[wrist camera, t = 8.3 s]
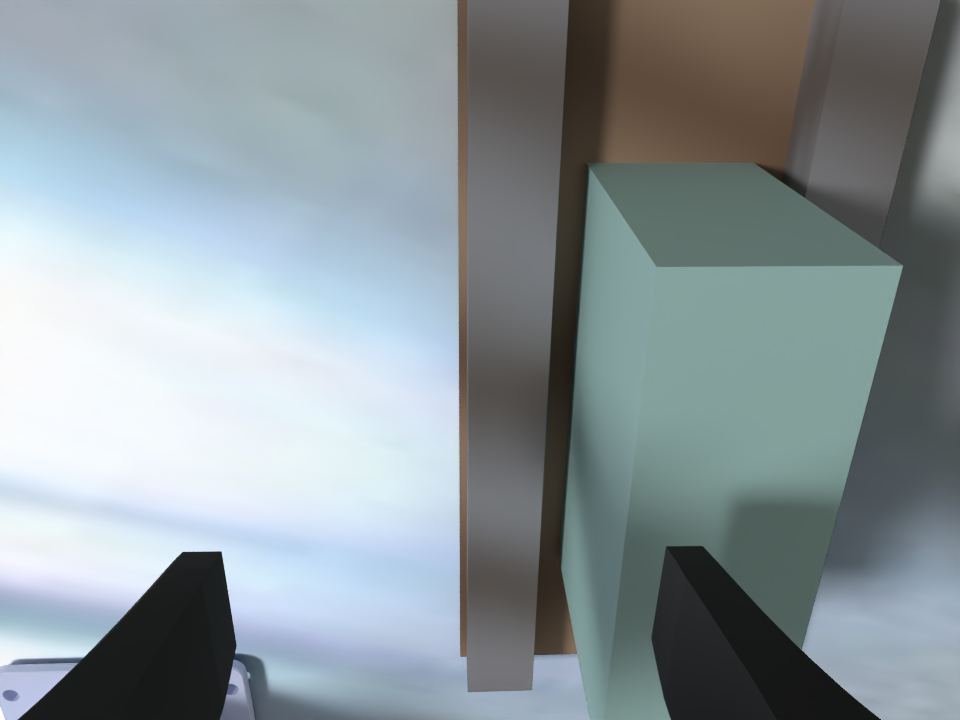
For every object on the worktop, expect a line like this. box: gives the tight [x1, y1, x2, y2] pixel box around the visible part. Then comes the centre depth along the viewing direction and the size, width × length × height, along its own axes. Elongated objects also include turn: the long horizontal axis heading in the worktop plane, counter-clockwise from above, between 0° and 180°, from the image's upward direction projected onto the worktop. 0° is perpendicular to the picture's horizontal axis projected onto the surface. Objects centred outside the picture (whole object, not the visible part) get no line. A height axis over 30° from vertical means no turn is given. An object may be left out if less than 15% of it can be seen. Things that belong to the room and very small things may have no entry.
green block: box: [559, 163, 903, 720], centre depth 19 cm, size 12×4×7 cm, turn 179°
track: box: [458, 0, 941, 692], centre depth 21 cm, size 20×10×2 cm, turn 0°
